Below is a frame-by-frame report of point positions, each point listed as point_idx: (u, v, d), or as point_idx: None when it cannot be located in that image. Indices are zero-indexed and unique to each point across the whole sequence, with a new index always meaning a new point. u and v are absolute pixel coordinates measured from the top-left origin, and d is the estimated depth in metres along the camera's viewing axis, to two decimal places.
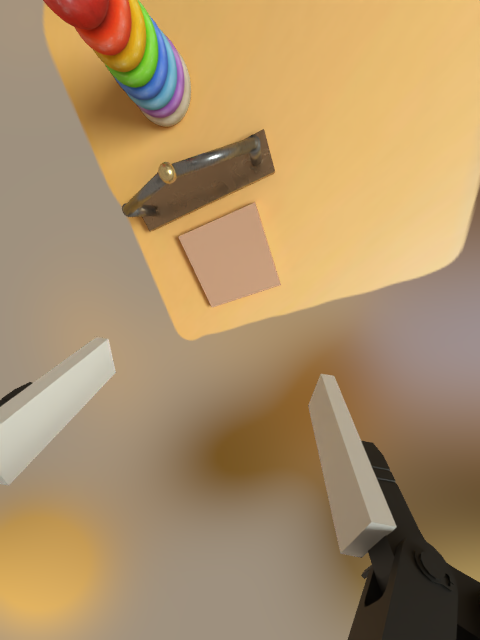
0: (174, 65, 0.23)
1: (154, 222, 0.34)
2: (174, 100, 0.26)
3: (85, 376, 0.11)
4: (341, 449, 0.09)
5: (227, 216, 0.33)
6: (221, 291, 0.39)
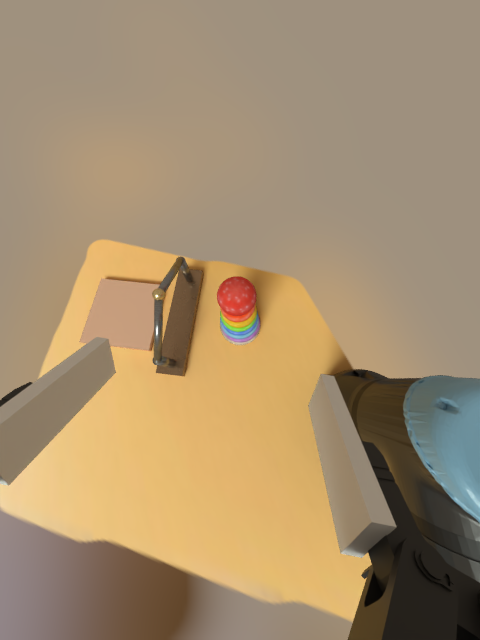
0: (229, 335, 0.36)
1: (181, 275, 0.44)
2: (222, 327, 0.39)
3: (85, 376, 0.11)
4: (341, 449, 0.09)
5: (153, 326, 0.41)
6: (107, 293, 0.44)
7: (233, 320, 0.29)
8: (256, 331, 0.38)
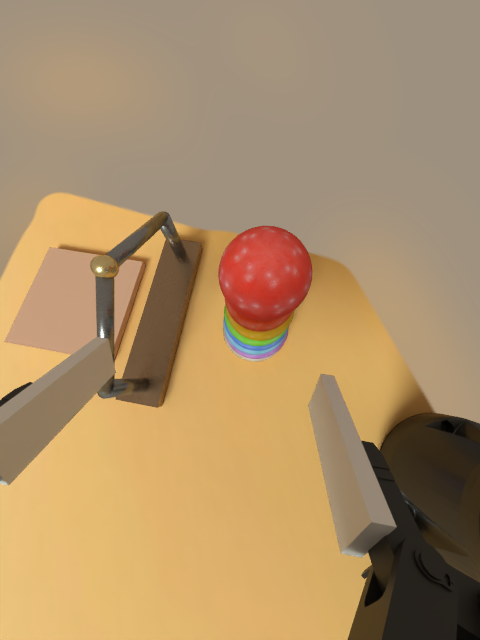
0: (238, 348, 0.21)
1: (169, 247, 0.29)
2: None
3: (85, 376, 0.11)
4: (341, 449, 0.09)
5: (119, 324, 0.27)
6: (56, 269, 0.29)
7: (250, 327, 0.14)
8: (282, 342, 0.23)
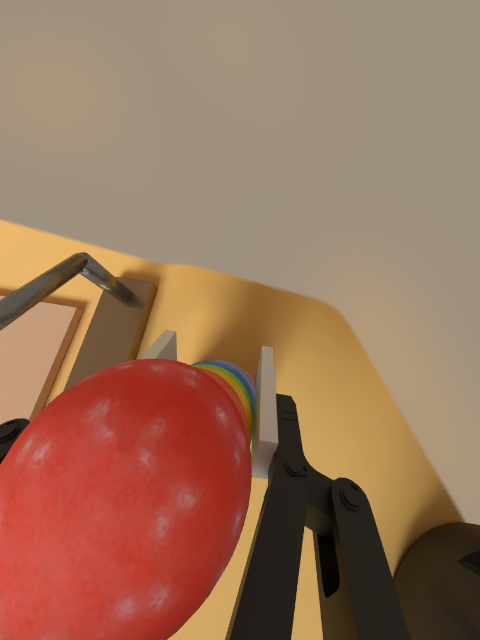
0: None
1: None
2: None
3: None
4: (259, 398, 0.10)
5: (36, 396, 0.20)
6: None
7: None
8: None
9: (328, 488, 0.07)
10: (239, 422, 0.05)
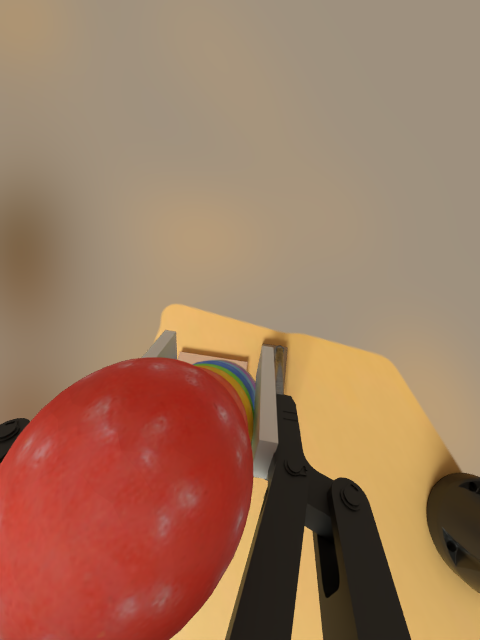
0: None
1: None
2: None
3: None
4: (259, 398, 0.10)
5: None
6: None
7: None
8: None
9: (328, 488, 0.07)
10: (241, 421, 0.05)
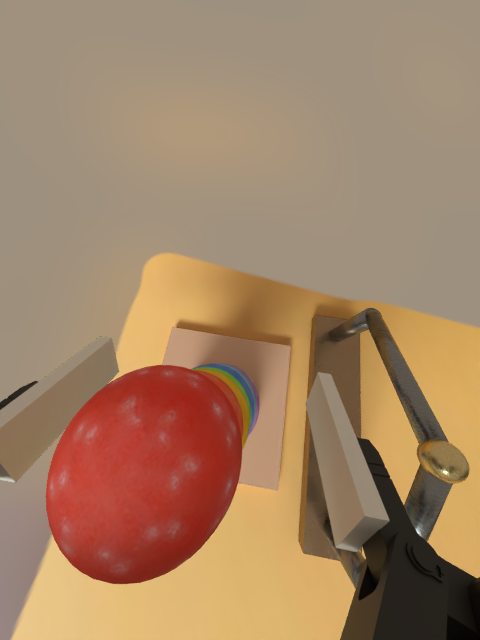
0: None
1: (323, 328, 0.24)
2: None
3: (89, 375, 0.11)
4: (337, 445, 0.09)
5: (280, 434, 0.21)
6: (185, 357, 0.23)
7: None
8: (250, 429, 0.18)
9: (470, 581, 0.06)
10: (232, 415, 0.06)
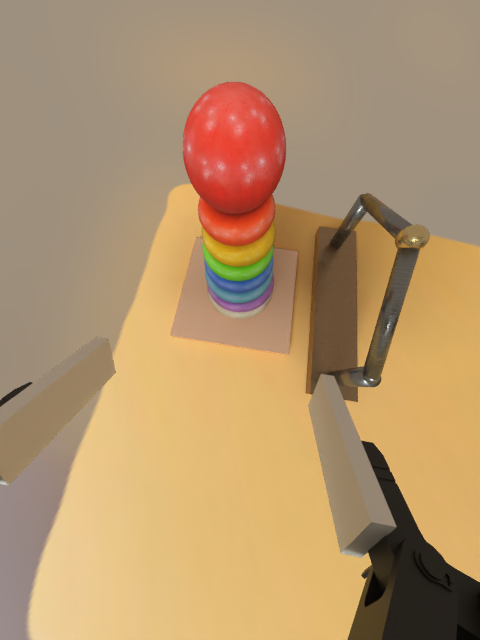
0: (220, 295, 0.20)
1: (325, 236, 0.28)
2: None
3: (85, 376, 0.11)
4: (341, 449, 0.09)
5: (290, 314, 0.25)
6: None
7: (225, 236, 0.13)
8: (267, 293, 0.22)
9: (479, 589, 0.06)
10: None
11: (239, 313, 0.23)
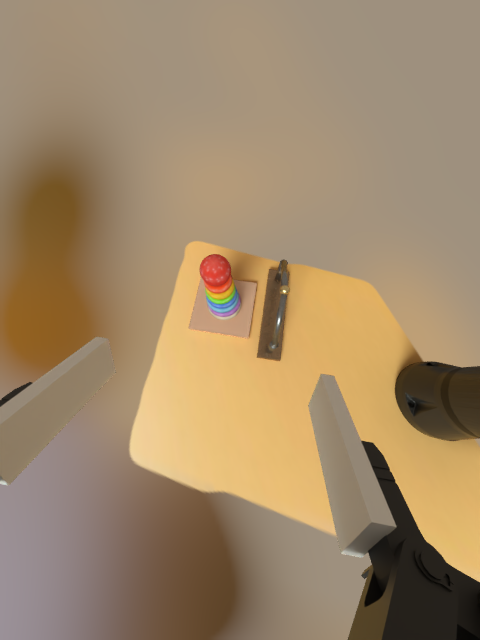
0: (213, 309, 0.43)
1: (271, 275, 0.51)
2: (208, 303, 0.46)
3: (85, 376, 0.11)
4: (341, 449, 0.09)
5: (250, 318, 0.48)
6: None
7: (213, 291, 0.36)
8: (236, 307, 0.45)
9: (479, 589, 0.06)
10: None
11: (223, 317, 0.46)
